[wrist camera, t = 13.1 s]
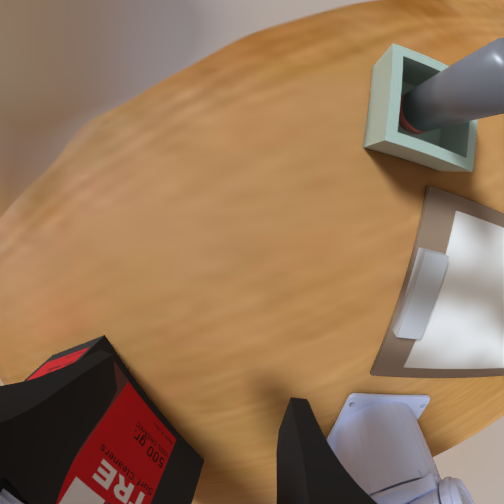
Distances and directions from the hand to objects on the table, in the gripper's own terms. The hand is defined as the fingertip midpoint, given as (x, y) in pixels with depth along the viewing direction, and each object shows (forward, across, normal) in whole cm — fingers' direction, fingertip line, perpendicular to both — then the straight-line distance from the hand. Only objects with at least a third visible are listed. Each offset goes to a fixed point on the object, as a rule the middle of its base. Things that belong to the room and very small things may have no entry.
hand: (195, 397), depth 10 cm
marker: (+9, -9, -14) cm, 19 cm away
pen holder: (+9, -9, -14) cm, 19 cm away
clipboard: (+9, -20, -3) cm, 22 cm away
